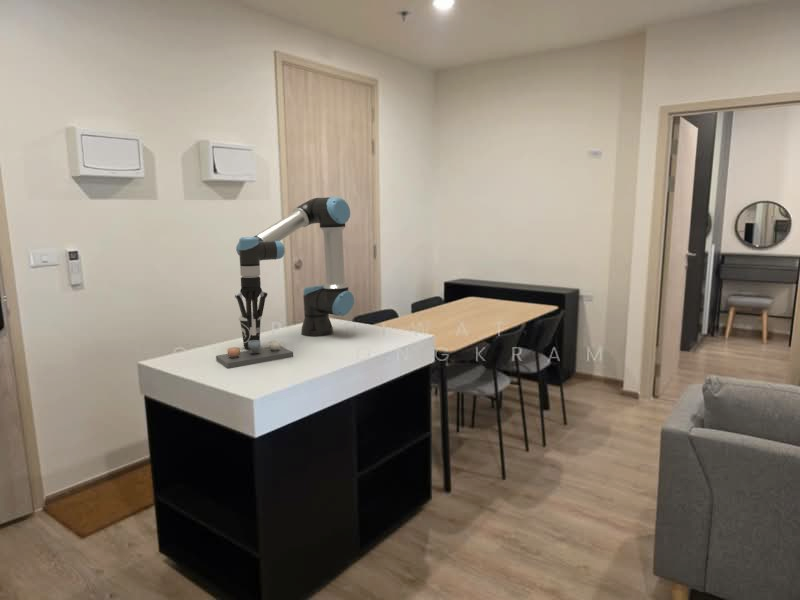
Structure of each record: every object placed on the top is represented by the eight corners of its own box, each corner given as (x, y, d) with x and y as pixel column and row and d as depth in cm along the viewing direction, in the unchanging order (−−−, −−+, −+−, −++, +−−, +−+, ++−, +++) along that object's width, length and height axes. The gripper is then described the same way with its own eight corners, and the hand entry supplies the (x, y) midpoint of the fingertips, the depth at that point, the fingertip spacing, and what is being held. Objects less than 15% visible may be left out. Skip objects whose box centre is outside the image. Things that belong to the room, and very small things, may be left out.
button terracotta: (238, 357, 218) (237, 346, 218) (242, 359, 215) (241, 349, 214) (226, 359, 216) (225, 348, 215) (230, 361, 212) (229, 351, 211)
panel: (279, 349, 234) (279, 345, 233) (293, 356, 222) (293, 351, 222) (216, 360, 218) (215, 355, 218) (227, 368, 207) (227, 363, 206)
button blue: (258, 349, 223) (257, 339, 222) (262, 351, 219) (262, 341, 218) (246, 351, 220) (246, 341, 219) (251, 353, 216) (250, 343, 216)
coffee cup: (257, 350, 232) (255, 316, 230) (236, 350, 234) (234, 315, 232) (266, 345, 241) (265, 312, 239) (247, 344, 243) (245, 311, 241)
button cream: (277, 350, 228) (277, 340, 227) (282, 352, 224) (282, 342, 224) (267, 352, 225) (266, 342, 225) (271, 354, 222) (271, 344, 221)
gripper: (262, 274, 221) (265, 331, 225) (230, 276, 214) (234, 335, 217) (269, 276, 215) (272, 334, 219) (237, 278, 208) (240, 338, 211)
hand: (253, 334), depth 218 cm, fingers closed
